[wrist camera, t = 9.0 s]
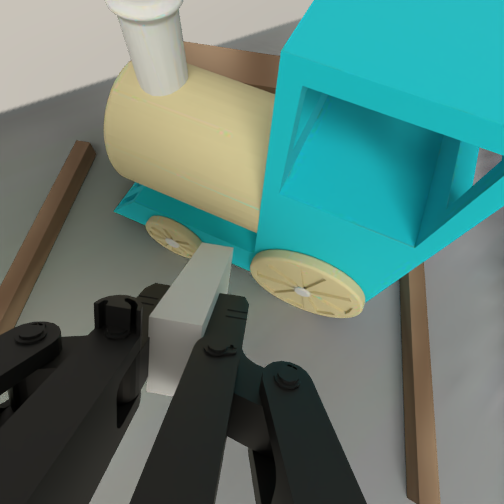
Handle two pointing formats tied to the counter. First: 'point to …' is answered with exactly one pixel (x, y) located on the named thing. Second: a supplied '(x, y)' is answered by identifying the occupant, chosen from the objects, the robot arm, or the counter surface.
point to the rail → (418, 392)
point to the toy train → (316, 143)
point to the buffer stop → (236, 64)
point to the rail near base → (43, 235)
